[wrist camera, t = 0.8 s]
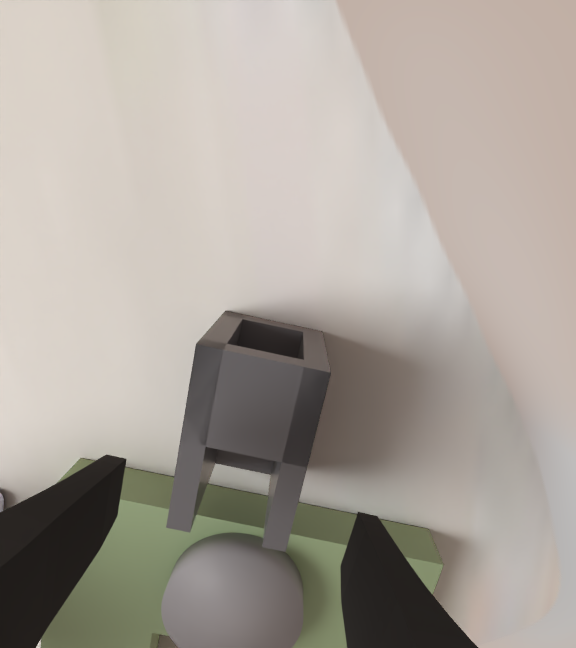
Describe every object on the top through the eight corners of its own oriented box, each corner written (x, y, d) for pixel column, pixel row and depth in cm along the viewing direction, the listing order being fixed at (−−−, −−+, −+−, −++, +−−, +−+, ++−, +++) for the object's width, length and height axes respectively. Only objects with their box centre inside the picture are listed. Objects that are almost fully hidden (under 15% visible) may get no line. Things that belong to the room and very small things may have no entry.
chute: (200, 449, 22) (166, 527, 17) (225, 310, 20) (196, 344, 15) (289, 467, 22) (285, 552, 17) (322, 331, 21) (330, 372, 15)
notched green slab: (61, 648, 26) (19, 723, 22) (80, 458, 23) (34, 506, 19) (366, 708, 26) (377, 791, 22) (428, 529, 23) (454, 590, 19)
